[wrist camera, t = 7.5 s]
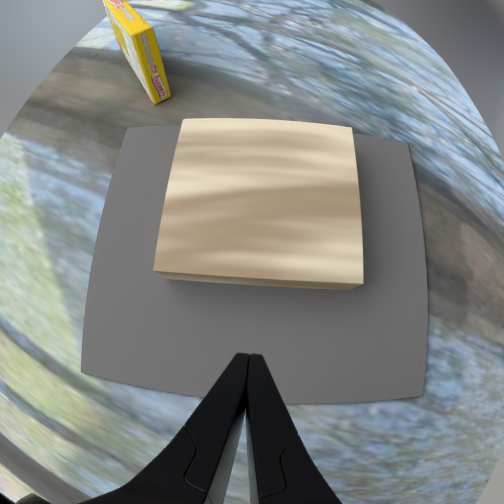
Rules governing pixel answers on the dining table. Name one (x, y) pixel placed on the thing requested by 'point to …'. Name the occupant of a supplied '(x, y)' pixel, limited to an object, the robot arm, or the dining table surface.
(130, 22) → the candy box
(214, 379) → the mat
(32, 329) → the dining table surface
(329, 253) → the birch tile
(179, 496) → the robot arm
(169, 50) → the dining table surface
